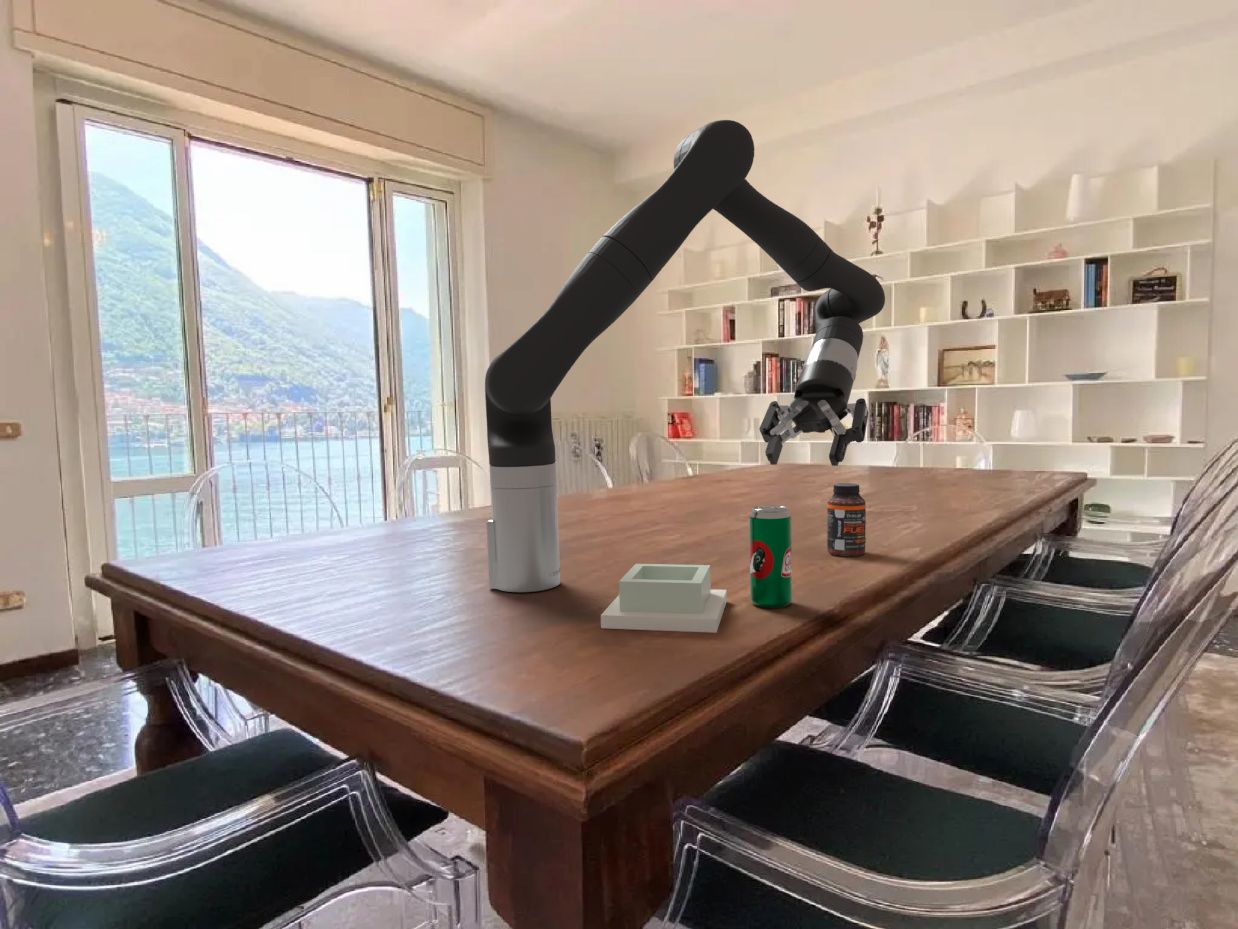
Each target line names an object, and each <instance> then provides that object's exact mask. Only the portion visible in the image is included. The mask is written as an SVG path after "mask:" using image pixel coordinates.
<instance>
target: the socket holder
mask: <svg viewBox="0 0 1238 929" xmlns="http://www.w3.org/2000/svg"><path fill="white" fill-rule="evenodd" d="M711 587H712V585H711V565H710V564H707V565H706V564H667V563H666V564H664V563H663V564H661V563H659V564H658V563H635V564H634V565H633V566H632V567H631V568H630V569H629V570H628V571H627V572H626V573H625V574H624V575H623V576H622V577H621V579H620V580H618V595H617V596H616V598H615V599H614V600H613V601H612V602H611V603H610V604H609V605H608V606H607V608H606V609H605V610H604V611H603V612H602V613H601V614H600V627H601V629H613V630H614V629H617V630H635V631H636V630H638V631H639V630H641V631H659V632H660V631H663V632H664V631H665V632H667V631H668V632H686V633H687V632H688V633H692V632H693V633H712V634H713V633H714V634H715V633H716V634H717V633H718V629H719V626H720V623H721V620H722V618H723V614H724V610H725V608H726V605H727V602H728V600H727V599H728V598H727V597H728V596H727V592H728V590H727V589H712V588H711Z"/></svg>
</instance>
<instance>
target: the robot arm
mask: <svg viewBox="0 0 1238 929" xmlns="http://www.w3.org/2000/svg"><path fill="white" fill-rule="evenodd" d="M754 158H755V142H754V139H753V136H752V134H751V132H750V130H748V128H747V127H746V126H744V125H743V124H742V123H740V122H738V121H735V120H730V119H720V120H714V121H710V122H708V123H707V124H705V125H703V126H701V127H699V128H698V129H696V130H694V131H693V132H691V133H689V134H688V135H686V137H684V138H683V139H682V140H681V141H679V144H678V145H677V147H676V149H675V151H674V156H673V168H674V169H673V171H672V172H670V173H671V174H670V175H669V176H668V177H667V178H666V180H665V181H664V182H662V184H661V185H660V186H659V187H658V188H657V189H655V190H654V191H653V192H652V193H651V194H649V195H648V196H647V197H645V198H644V199H643V200H642V201H640V202H639V203H638V204H637V205H636V206H634V207H633V208H632V209H631V210H629V211H628V212H627V213H626V214H624V215H623V216H622V217H621V218H620V219H619V220H617V221H616V223H614V225H612V226H611V227H610V229H608V230H607V231H606V232H605V233H604V234H603V235H602V236H601V237H600V239H598V240H597V242H596V243H595V244H594V245H593V246H592V247H591V249H590V250H589V251H588V252H587V253H586V255H584V256H583V258H582V259H581V261H580V262H579V263H578V265H577V266H576V267H575V269H574V270H573V271H572V273H571V274H570V276H568V278H567V279H566V281H565V283H564V284H563V285H562V287H561V288H560V290H559V291H558V293H557V295H556V296H555V298H554V300H553V301H552V303H551V304H550V305H549V307H548V308H547V309H546V310H545V311H544V312H543V313H542V315H541V316H539V317H538V319H537V320H536V321H535V322H534V323H532V325H531V326H530V327H528V329H526V330H525V331H524V332H523V334H521V335H520V336H519V337H517V339H515V341H513V342H512V343H511V344H510V345H509V346H507V347H506V348H505V349H503V351H501V352H500V353H498V355H496V356H495V357H494V358H493V359H492V360H491V363H490V364H489V366H488V368H487V370H486V373H485V377H484V392H485V393H484V394H485V395H484V396H485V413H486V416H485V417H486V437H487V438H486V439H487V448H488V449H487V450H488V462H489V463H488V464H489V481H490V482H489V485H490V506H491V510H490V511H491V519H489V520H487V522H486V523H485V524H486V547H487V565H488V566H487V567H488V568H487V569H488V585H489V589H491V590H499V591H502V592H509V593H510V592H511V593H530V592H531V593H534V592H541V591H545V590H550V589H553V588H556V587H557V586H559V585H560V584H561V565H560V542H559V540H560V538H559V536H560V535H559V516H558V515H559V514H558V489H557V487H558V486H557V464H556V445H555V441H554V440H555V439H554V435H553V434H554V433H553V432H554V431H553V425H552V397H553V395H554V393H555V392H556V390H557V389H558V387H559V386H560V384H561V383H562V381H563V380H564V378H566V376H567V374H568V373H569V371H570V370H571V368H572V367H573V366H574V365H575V363H576V362H577V361H578V360H579V358H580V357H581V355H582V354H583V353H584V352H585V350H586V349H587V348H588V347H589V346H590V345H591V344H592V343H593V342H594V341H595V340H596V339H597V338H598V337H599V336H600V335H602V334H603V333H604V332H605V331H606V330H607V329H608V328H609V327H610V326H612V325H613V323H615V322H616V321H617V320H618V319H620V317H621V316H622V315H623V314H624V313H625V312H626V310H628V308H630V307H631V306H632V305H633V304H634V303H635V301H636V300H638V298H639V297H640V296H641V295H642V293H644V291H645V290H646V289H647V288H648V287H649V285H650V284H651V283H653V281H654V279H655V278H656V277H657V276H658V275H659V274H660V272H661V271H662V270H663V268H664V267H665V266H666V265H667V264H668V262H669V261H670V260H672V257H673V256H674V255H675V254H676V252H677V251H678V250H679V249H680V248H681V246H682V245H683V244H684V242H685V241H686V240H687V238H688V236H690V234H691V233H692V232H693V230H694V229H695V228H696V227H697V226H698V224H700V222H701V221H703V219H704V218H705V217H706V216H707V215H708V214H709V213H710V212H712V211H716V212H717V213H718V214H720V215H721V216H722V217H723V218H724V219H726V220H727V221H728V222H730V223H731V224H732V225H734V226H735V227H736V228H737V229H739V230H740V231H741V232H743V233H744V234H745V235H746V236H747V237H748V238H750V240H752V242H754V243H755V244H756V245H757V246H759V247H760V248H761V250H762V251H764V252H765V253H766V254H767V255H768V256H769V257H770V259H772V260H773V261H774V262H775V263H776V264H777V265H778V266H779V267H780V268H781V269H782V270H783V271H784V272H785V273H786V274H787V275H788V276H789V277H790V278H791V279H792V280H793V281H794V282H795V284H797V285H798V286H799V287H800V288H801V289H802V290H805V291H806V292H815V291H819V290H823V289H828V290H826V291H825V292H823V293H822V294H821V295H820V296H819V298H818V299H817V300H816V303H815V306H814V318H815V319H814V320H815V322H814V323H815V335H814V339H813V342H812V344H811V347H810V350H809V352H808V354H807V355H806V357H805V360H804V364H803V366H802V369H801V372H800V376H799V379H798V382H797V385H796V389H795V391H794V396H793V399H792V401H791V402H790V403H789V404H788V405H782V404H781V405H779V402H778V401H776V400H773V401H771V402H770V403H769V405H768V407H767V410H766V413H765V414H764V417H763V419H762V422H761V424H760V426H759V429H758V430H759V432H760V435H761V436H762V437H761V438H762V439H763V441H764V443H767V445H766V448H765V451H764V454H765V456H766V458H767V460H768V462H769V463H770V465H773V466H775V465H777V464H778V462H779V460H780V457H781V456H780V455H781V454H782V450H783V444H785V443H786V442H787V441H788V440H790V439H795V438H796V437H798V436H799V435H800V434H801V433H803V434H809V433H820V434H823V433H824V434H825V433H826V432H827V431H830V433H831V434H832V436H833V440H832V444H831V445H830V446H831V447H830V451H829V454H828V459H829V461H830V464H831V466H832V467H838V466H839V465H840V464H839V463H842V462H843V461H844V459H845V456H846V452H847V449H848V446H849V445H850V444H851V443H852V442H856V443H858V444H859V443H860V444H861V443H862V442H864V441H865V438H866V431H867V426H868V419H869V414H870V413H869V409H868V404H867V402H866V399H865V398H863V397H862V398H861V397H859V399H858V398H857V399H856V401H855V403H852V402H851V403H849V400H850V396H851V392H852V389H853V385H854V383H855V380H856V376H857V369H858V360H859V357H860V353H861V350H862V346H863V342H864V331H863V329H862V326H861V324H862V323H863V322H864V321H867V320H869V319H872V318H873V317H875V316H876V315H878V314H879V313H880V312H882V310H883V309H884V307H885V304H886V295H885V290H884V288H883V286H882V284H881V283H880V281H879V280H878V279H877V278H876V277H875V276H874V275H873V274H872V273H870V272H869V271H867V270H865V269H864V268H862V267H860V266H859V265H856V264H855V263H854V262H851V261H850V260H848V259H846V258H845V257H842V256H841V255H839V254H837V253H835V252H834V250H833V249H832V248H831V247H830V246H829V245H828V244H827V243H826V242H825V241H824V240H823V238H821V237H820V235H819V234H818V233H816V232H815V230H814V229H813V228H812V227H811V226H809V225H808V224H807V223H806V222H805V221H803V220H802V219H800V218H799V217H797V216H796V215H794V214H793V213H791V212H789V211H788V210H786V209H784V208H783V207H782V206H779V205H778V204H776V203H775V202H773V201H772V200H770V199H769V198H767V197H766V196H765V195H763V194H762V193H761V192H759V191H758V190H757V189H756V188H755V187H754V186H753V185H752V184H751V183H750V182H749V181H748V180H747V179H746V178H747V176H748V175H749V173H750V171H751V168H752V166H753V163H754ZM848 414H850V415H851V418H852V421H851V422H852V423H851V427H849V428H846V427H845V426H844V425H843V424H842V422H841V421H842V420H843V419H845V418H846V417H847V416H848ZM792 423H793V424H794V425H795V426H794V427H793V425H792Z"/></svg>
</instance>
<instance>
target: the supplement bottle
mask: <svg viewBox="0 0 1238 929" xmlns="http://www.w3.org/2000/svg"><path fill="white" fill-rule="evenodd" d="M826 507H827V512H826V514H827V515H826V517H827V518H826V522H827V523H826V527H827V528H826V531H827V532H826V533H827V534H826V535H827V536H826V546H827V548H826V549H827V552H828V553H829V554H830V555H833V556H837V557H859V556H862V555H864V554H866V547H867V546H866V542H867V541H866V540H867V538H866V534H867V533H866V530H867V527H866V524H867V522H866V515H867V514H866V507H867V506H866V499H865V498H863V497H862V496H861V494H860V484H858V483H854V482H853V483H852V482H851V483H849V482H843V483H842V482H839V483H833V494H832V496H830V497H829V498H828V500H827V504H826Z"/></svg>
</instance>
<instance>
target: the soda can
mask: <svg viewBox="0 0 1238 929" xmlns="http://www.w3.org/2000/svg"><path fill="white" fill-rule="evenodd" d="M788 509H789V508H788V506H784V505H769V504H768V505H756V506H753V507H751V513H750V514H749V515H748V528H749V529H748V535H749V539H748V540H749V542H748V544H749V585H750V586H749V593H750V595H749V597H750V598H749V599H750V601H751V602H752V604H754V605H755V606H756V607H759V608H762V607H763V609H782V608H786V607H788V606H789V605H790V604H791V602H792V601H793V565H792V564H793V563H792V562H793V561H792V558H793V557H792V554H793V552H792V516H791V514H790V513H789V510H788Z"/></svg>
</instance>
